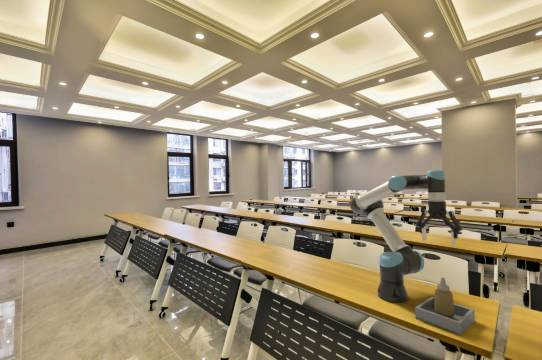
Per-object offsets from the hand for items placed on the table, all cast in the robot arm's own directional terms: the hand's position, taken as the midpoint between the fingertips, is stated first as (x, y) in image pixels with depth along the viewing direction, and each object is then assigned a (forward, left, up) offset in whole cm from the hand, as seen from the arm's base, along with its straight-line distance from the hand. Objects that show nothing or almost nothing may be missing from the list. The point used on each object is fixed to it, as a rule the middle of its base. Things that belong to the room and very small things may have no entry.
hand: (438, 242), depth 130 cm
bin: (+7, -14, -31) cm, 35 cm away
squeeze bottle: (+7, -14, -31) cm, 34 cm away
